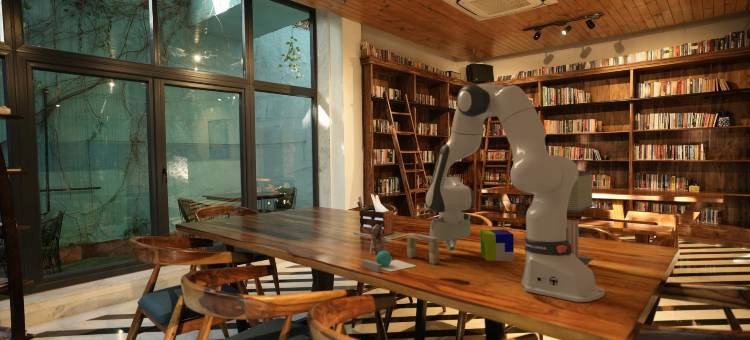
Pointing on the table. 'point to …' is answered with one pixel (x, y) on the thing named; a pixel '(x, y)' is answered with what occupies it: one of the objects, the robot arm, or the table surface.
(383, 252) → the ball
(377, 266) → the stopper strip
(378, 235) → the figurine
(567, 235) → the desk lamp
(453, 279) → the table surface
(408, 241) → the bridge
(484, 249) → the puzzle toy
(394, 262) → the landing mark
